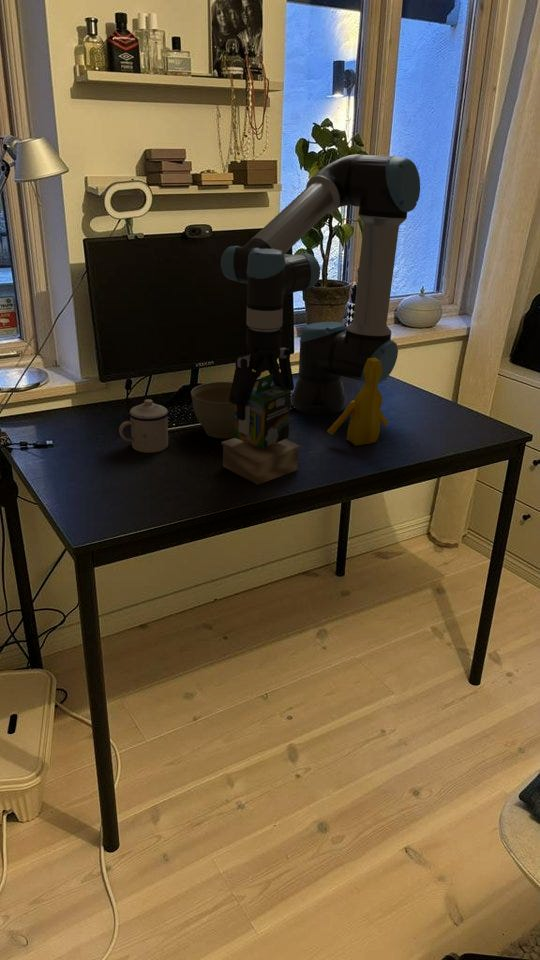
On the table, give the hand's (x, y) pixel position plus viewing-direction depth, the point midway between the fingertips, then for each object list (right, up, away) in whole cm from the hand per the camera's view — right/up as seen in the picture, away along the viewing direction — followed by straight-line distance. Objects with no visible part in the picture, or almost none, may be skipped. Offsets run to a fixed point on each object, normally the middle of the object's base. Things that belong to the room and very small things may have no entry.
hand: (261, 427), depth 161 cm
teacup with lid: (-28, -4, +13) cm, 31 cm away
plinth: (0, -9, +4) cm, 10 cm away
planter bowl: (-10, 0, +23) cm, 25 cm away
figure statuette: (+25, -2, +20) cm, 32 cm away
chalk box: (0, -3, +1) cm, 3 cm away
